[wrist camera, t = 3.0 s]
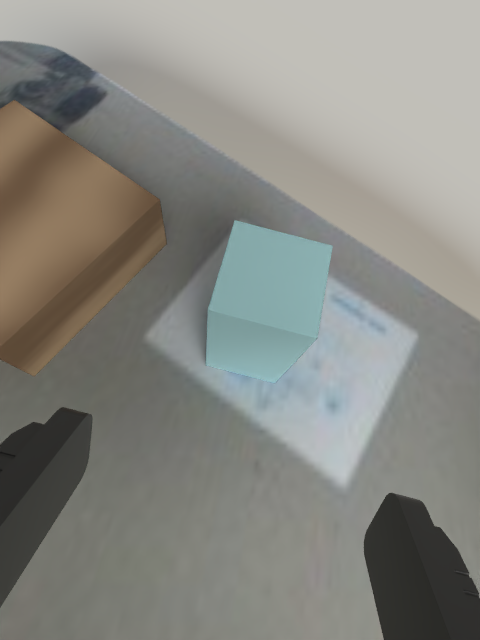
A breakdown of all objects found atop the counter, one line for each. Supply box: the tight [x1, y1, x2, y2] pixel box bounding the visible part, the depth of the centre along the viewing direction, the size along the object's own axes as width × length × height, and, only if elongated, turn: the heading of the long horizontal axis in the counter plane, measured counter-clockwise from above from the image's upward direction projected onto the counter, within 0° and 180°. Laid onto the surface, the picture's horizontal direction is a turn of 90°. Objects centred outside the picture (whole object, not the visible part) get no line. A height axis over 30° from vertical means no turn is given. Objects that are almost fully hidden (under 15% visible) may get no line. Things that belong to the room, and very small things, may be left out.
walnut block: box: [0, 100, 167, 376], centre depth 22 cm, size 12×12×5 cm
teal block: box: [206, 220, 333, 383], centre depth 19 cm, size 4×4×9 cm
